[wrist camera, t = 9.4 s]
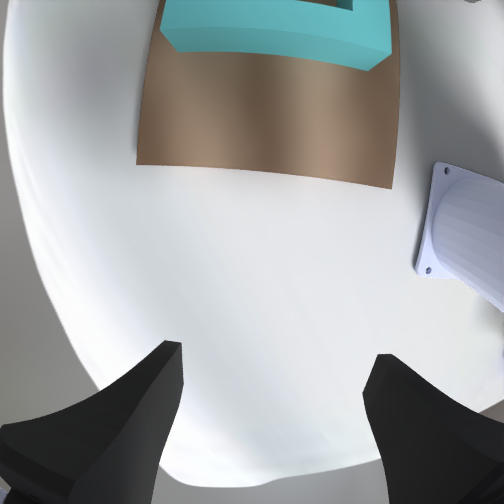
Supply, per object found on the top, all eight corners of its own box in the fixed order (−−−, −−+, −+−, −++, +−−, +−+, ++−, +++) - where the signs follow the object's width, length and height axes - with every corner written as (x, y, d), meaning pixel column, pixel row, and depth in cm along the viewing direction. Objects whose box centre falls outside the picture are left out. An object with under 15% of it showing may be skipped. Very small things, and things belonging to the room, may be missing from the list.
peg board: (383, -41, 11) (410, -78, 6) (383, 187, 17) (430, 200, 12) (185, -62, 11) (167, -105, 6) (143, 164, 17) (98, 168, 11)
